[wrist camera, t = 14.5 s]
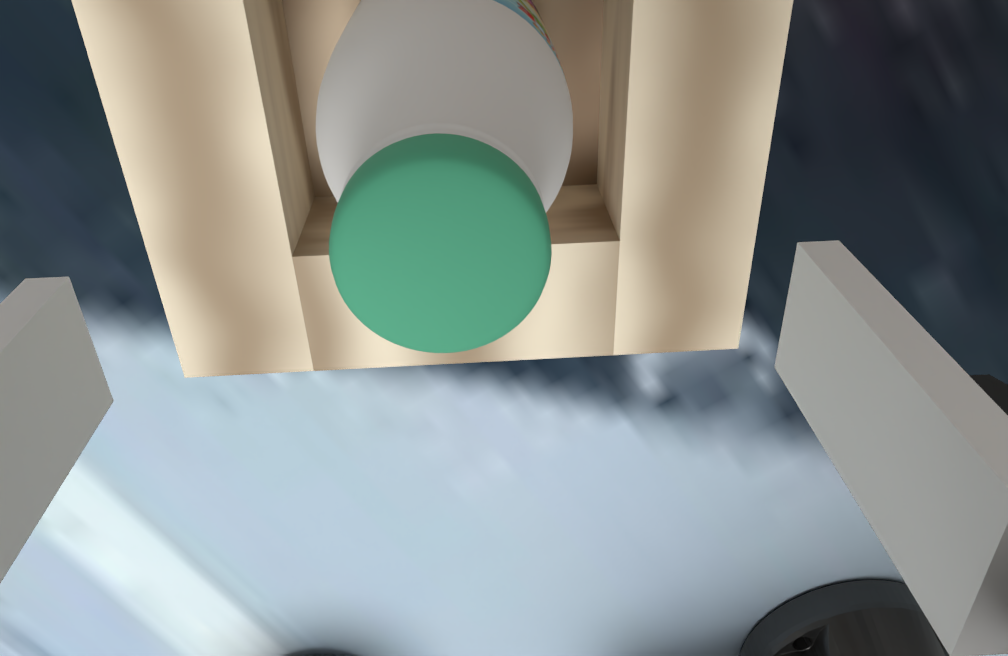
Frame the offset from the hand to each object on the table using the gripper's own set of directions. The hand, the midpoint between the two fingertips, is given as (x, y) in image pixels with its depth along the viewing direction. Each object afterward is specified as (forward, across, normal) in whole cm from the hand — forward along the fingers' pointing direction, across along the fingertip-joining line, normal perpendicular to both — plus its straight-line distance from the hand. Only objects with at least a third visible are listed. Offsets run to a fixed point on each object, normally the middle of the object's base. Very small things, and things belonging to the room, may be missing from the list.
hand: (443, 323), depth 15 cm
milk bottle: (+22, 0, 0) cm, 22 cm away
